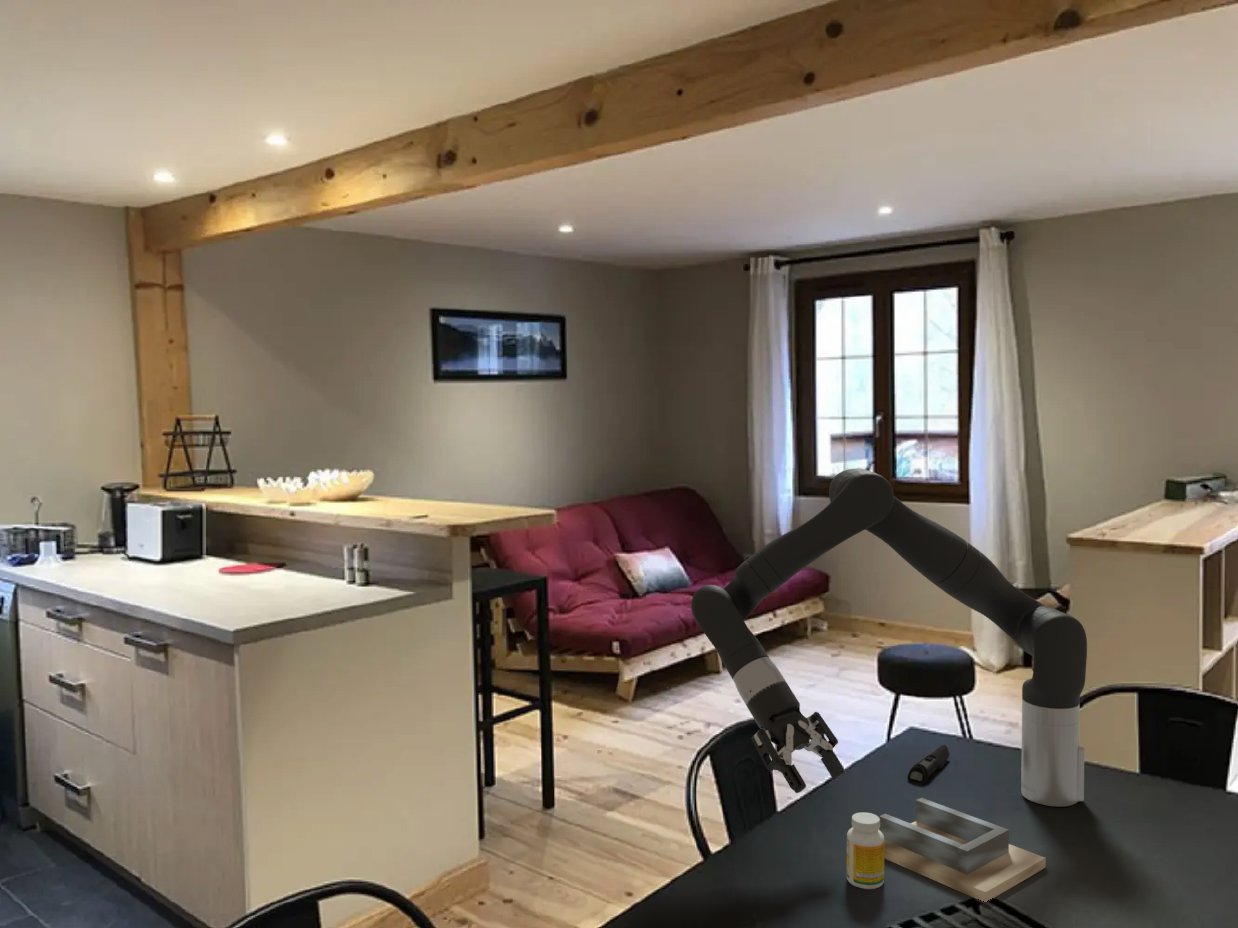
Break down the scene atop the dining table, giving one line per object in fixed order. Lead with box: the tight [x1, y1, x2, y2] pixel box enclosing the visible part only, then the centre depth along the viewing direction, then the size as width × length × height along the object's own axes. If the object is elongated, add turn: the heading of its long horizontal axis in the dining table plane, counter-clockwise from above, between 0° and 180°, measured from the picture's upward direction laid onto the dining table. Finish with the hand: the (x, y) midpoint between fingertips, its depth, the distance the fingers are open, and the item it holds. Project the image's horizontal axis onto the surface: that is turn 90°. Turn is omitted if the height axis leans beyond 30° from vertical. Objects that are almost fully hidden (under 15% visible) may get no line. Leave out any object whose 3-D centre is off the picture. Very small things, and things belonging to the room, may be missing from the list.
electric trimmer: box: [907, 744, 950, 785], centre depth 185 cm, size 4×16×3 cm, turn 142°
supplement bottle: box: [846, 811, 885, 890], centre depth 143 cm, size 5×5×10 cm
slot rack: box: [878, 797, 1047, 903], centre depth 149 cm, size 20×16×5 cm
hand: (820, 783), depth 149 cm, fingers open, 8 cm apart
